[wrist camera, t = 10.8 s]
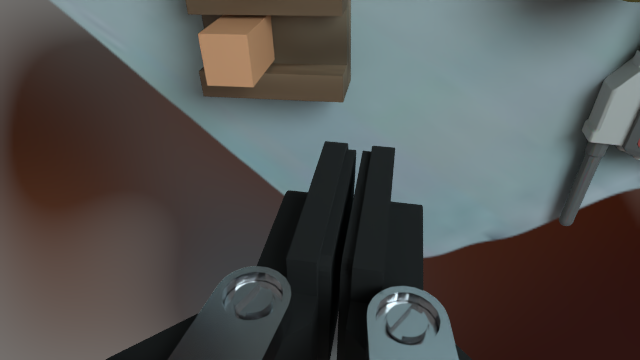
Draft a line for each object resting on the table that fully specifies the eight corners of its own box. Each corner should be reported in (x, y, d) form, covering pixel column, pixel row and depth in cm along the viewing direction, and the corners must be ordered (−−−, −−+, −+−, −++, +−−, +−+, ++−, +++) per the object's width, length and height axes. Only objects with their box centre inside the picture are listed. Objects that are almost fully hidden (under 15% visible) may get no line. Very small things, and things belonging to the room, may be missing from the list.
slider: (227, 11, 31) (197, 33, 27) (270, 12, 30) (247, 34, 26) (234, 58, 33) (207, 85, 29) (274, 59, 32) (253, 87, 28)
